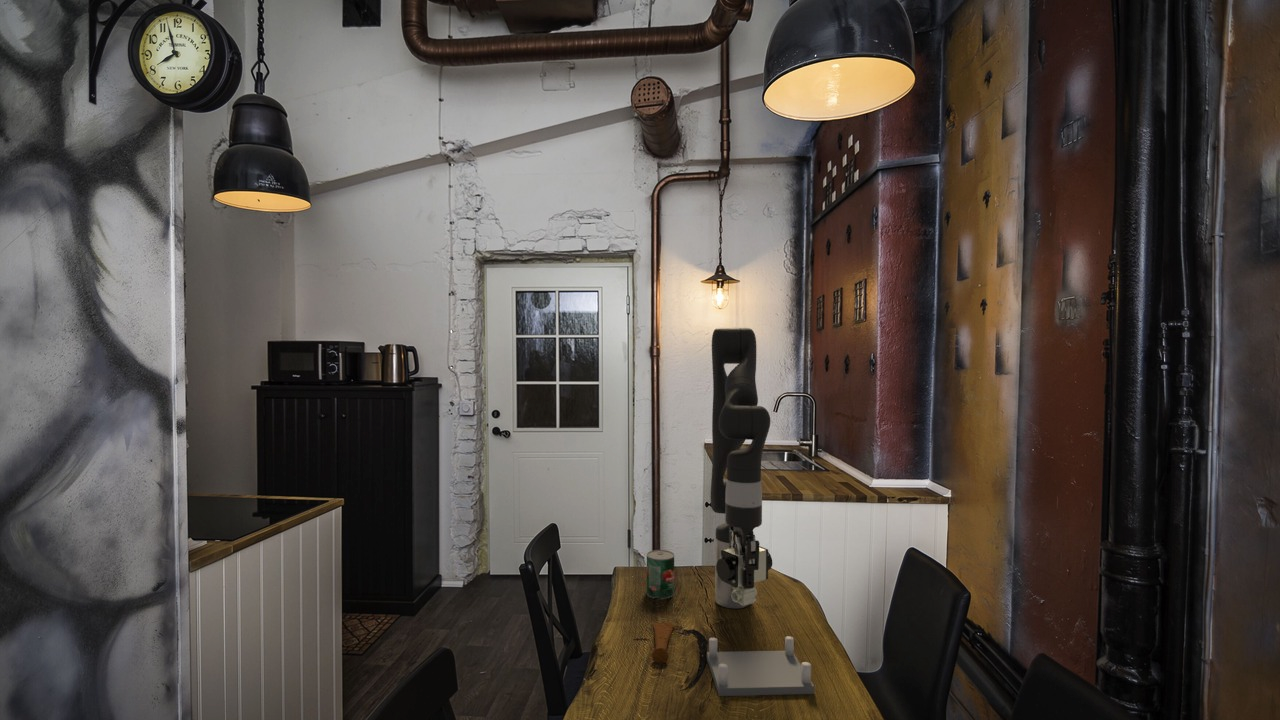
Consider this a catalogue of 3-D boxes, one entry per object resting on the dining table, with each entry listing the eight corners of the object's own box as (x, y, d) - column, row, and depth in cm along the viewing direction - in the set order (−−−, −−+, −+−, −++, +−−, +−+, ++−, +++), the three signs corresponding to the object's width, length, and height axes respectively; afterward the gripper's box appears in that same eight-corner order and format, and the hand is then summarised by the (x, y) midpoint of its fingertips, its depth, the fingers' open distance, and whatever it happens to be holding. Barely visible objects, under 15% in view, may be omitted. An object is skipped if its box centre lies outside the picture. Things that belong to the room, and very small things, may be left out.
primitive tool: (652, 624, 143) (653, 610, 143) (674, 625, 143) (675, 611, 143) (651, 666, 124) (651, 649, 124) (676, 667, 124) (677, 650, 124)
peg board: (718, 696, 112) (719, 670, 112) (706, 658, 126) (706, 636, 126) (814, 693, 113) (814, 668, 113) (791, 657, 127) (792, 634, 127)
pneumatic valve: (772, 600, 121) (773, 543, 120) (730, 612, 114) (730, 552, 114) (754, 590, 125) (754, 535, 125) (712, 602, 119) (712, 545, 119)
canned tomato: (674, 599, 158) (675, 559, 158) (646, 599, 158) (646, 559, 158) (673, 588, 165) (673, 549, 165) (646, 587, 166) (646, 549, 166)
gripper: (772, 510, 113) (772, 594, 113) (750, 492, 127) (750, 567, 127) (735, 511, 112) (734, 596, 112) (717, 493, 126) (717, 568, 127)
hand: (743, 580), depth 120 cm, fingers closed on pneumatic valve, 6 cm apart
